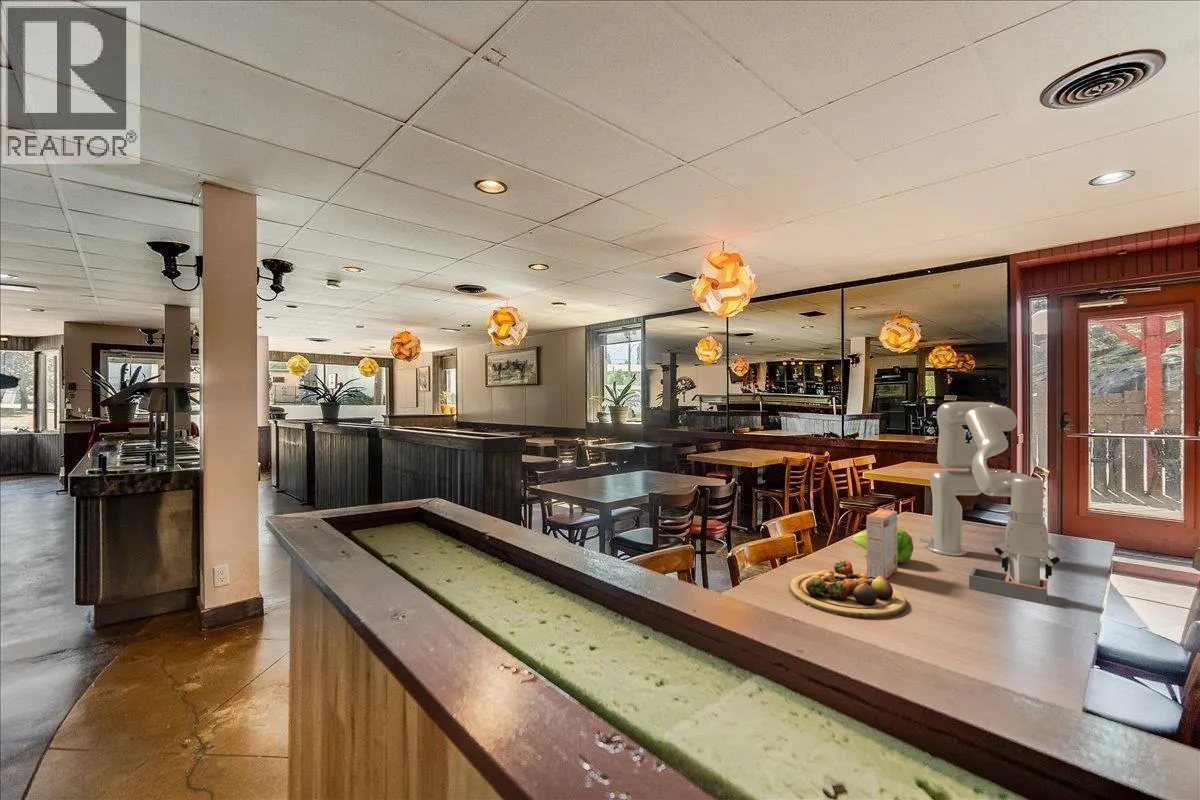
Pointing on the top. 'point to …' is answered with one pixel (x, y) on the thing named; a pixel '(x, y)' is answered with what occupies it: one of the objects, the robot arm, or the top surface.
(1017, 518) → the robot arm
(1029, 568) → the skincare box
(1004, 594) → the box
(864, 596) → the wooden plate with food
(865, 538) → the lettuce
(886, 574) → the cracker box
